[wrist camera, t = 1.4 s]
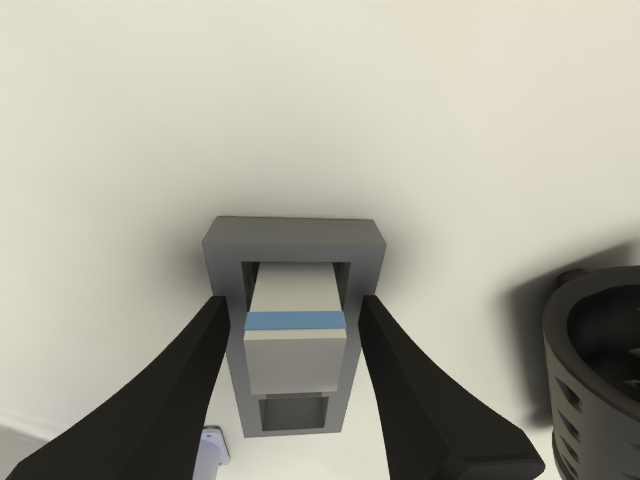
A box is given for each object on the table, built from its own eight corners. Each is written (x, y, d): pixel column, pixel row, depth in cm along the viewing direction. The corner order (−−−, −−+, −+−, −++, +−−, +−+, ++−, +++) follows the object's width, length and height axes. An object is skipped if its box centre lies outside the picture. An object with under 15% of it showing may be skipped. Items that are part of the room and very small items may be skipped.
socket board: (249, 405, 22) (242, 450, 20) (217, 216, 12) (194, 252, 10) (337, 401, 23) (342, 443, 20) (372, 220, 13) (392, 254, 11)
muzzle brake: (646, 228, 15) (1124, 426, 6) (612, 406, 29) (748, 547, 20) (489, 293, 17) (687, 510, 8) (526, 431, 31) (616, 568, 22)
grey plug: (266, 293, 16) (250, 395, 10) (263, 244, 14) (241, 339, 8) (325, 293, 16) (337, 391, 11) (330, 245, 14) (348, 336, 9)
